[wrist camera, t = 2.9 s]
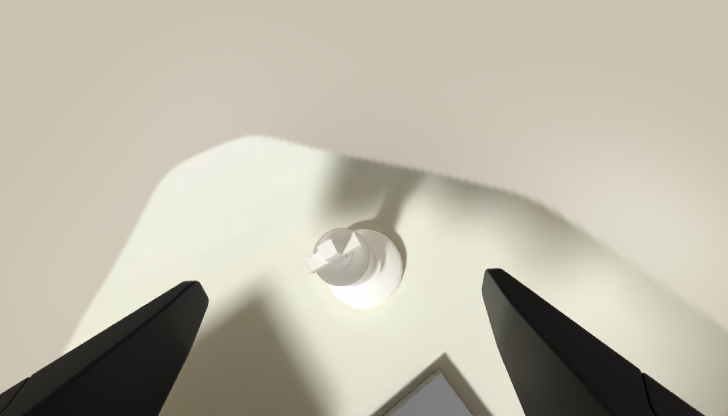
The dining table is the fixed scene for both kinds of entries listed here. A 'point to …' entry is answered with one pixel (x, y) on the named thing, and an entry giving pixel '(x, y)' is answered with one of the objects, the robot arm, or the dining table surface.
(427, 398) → the slate tile
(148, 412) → the robot arm
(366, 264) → the chess piece
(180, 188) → the dining table surface
